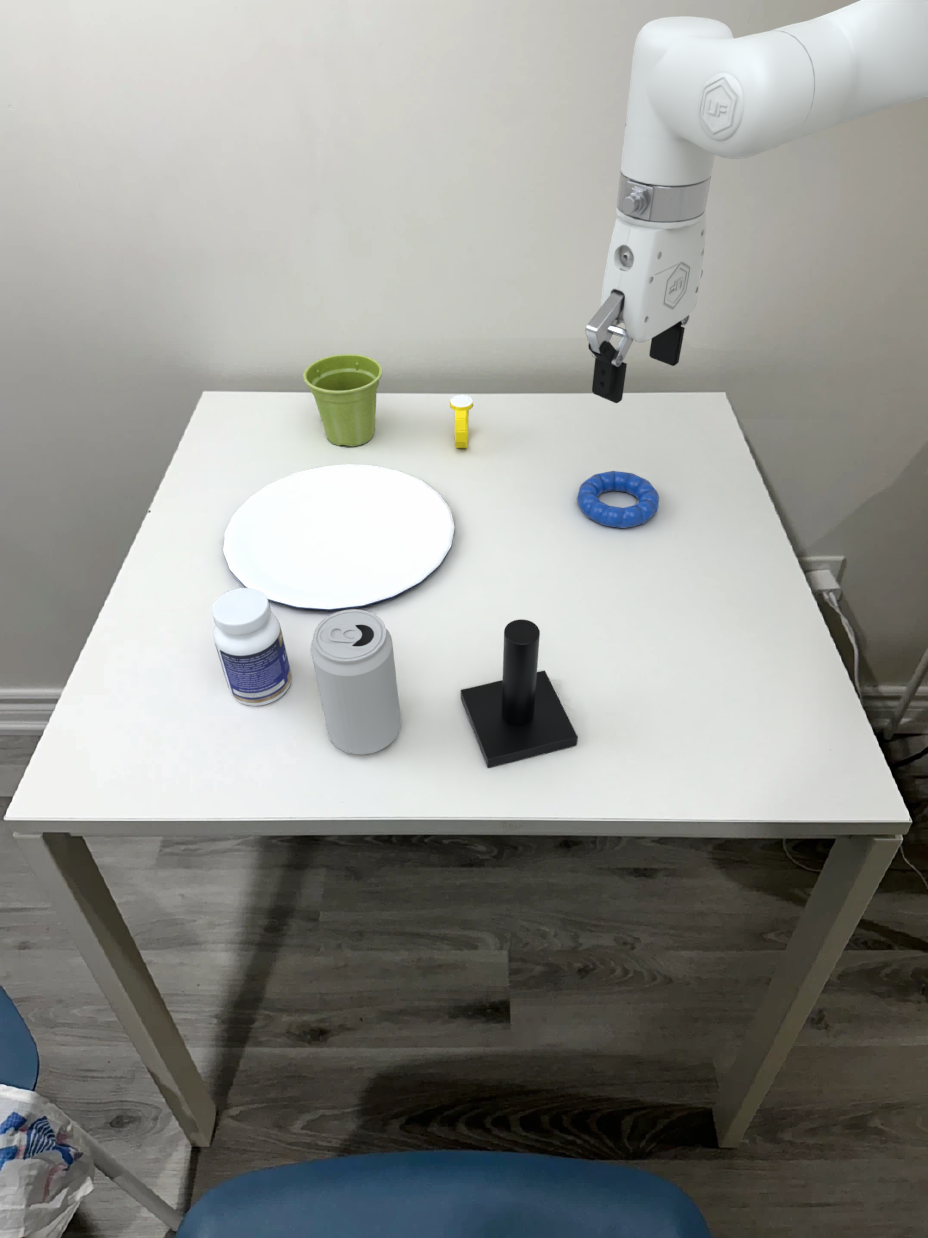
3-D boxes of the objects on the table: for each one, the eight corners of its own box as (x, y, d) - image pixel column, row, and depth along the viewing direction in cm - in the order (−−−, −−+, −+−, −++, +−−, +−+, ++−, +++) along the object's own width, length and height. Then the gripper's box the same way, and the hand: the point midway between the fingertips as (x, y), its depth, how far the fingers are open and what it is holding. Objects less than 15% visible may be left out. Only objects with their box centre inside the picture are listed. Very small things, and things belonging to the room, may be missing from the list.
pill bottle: (304, 685, 78) (288, 606, 71) (251, 718, 75) (228, 640, 68) (269, 652, 81) (250, 573, 74) (217, 683, 78) (191, 604, 71)
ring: (636, 477, 100) (638, 462, 99) (671, 522, 94) (674, 506, 93) (565, 491, 99) (566, 475, 97) (595, 538, 92) (597, 522, 91)
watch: (452, 429, 108) (451, 387, 104) (474, 429, 108) (474, 387, 104) (449, 455, 104) (448, 412, 100) (472, 456, 104) (471, 413, 100)
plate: (183, 594, 87) (180, 585, 86) (278, 459, 104) (276, 450, 103) (419, 634, 82) (418, 625, 81) (477, 486, 100) (477, 477, 99)
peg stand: (544, 678, 78) (551, 588, 70) (577, 745, 72) (589, 656, 65) (460, 698, 76) (458, 608, 69) (487, 768, 71) (488, 679, 63)
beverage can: (398, 760, 72) (388, 664, 63) (322, 759, 72) (302, 663, 63) (404, 702, 76) (394, 605, 68) (332, 701, 76) (314, 604, 68)
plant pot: (299, 432, 108) (288, 369, 102) (360, 407, 112) (354, 345, 106) (339, 464, 103) (330, 400, 97) (402, 437, 107) (397, 374, 101)
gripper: (640, 235, 66) (615, 427, 78) (752, 180, 75) (714, 359, 87) (564, 212, 70) (551, 399, 82) (680, 162, 79) (653, 337, 91)
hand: (635, 378), depth 84 cm, fingers open, 9 cm apart
